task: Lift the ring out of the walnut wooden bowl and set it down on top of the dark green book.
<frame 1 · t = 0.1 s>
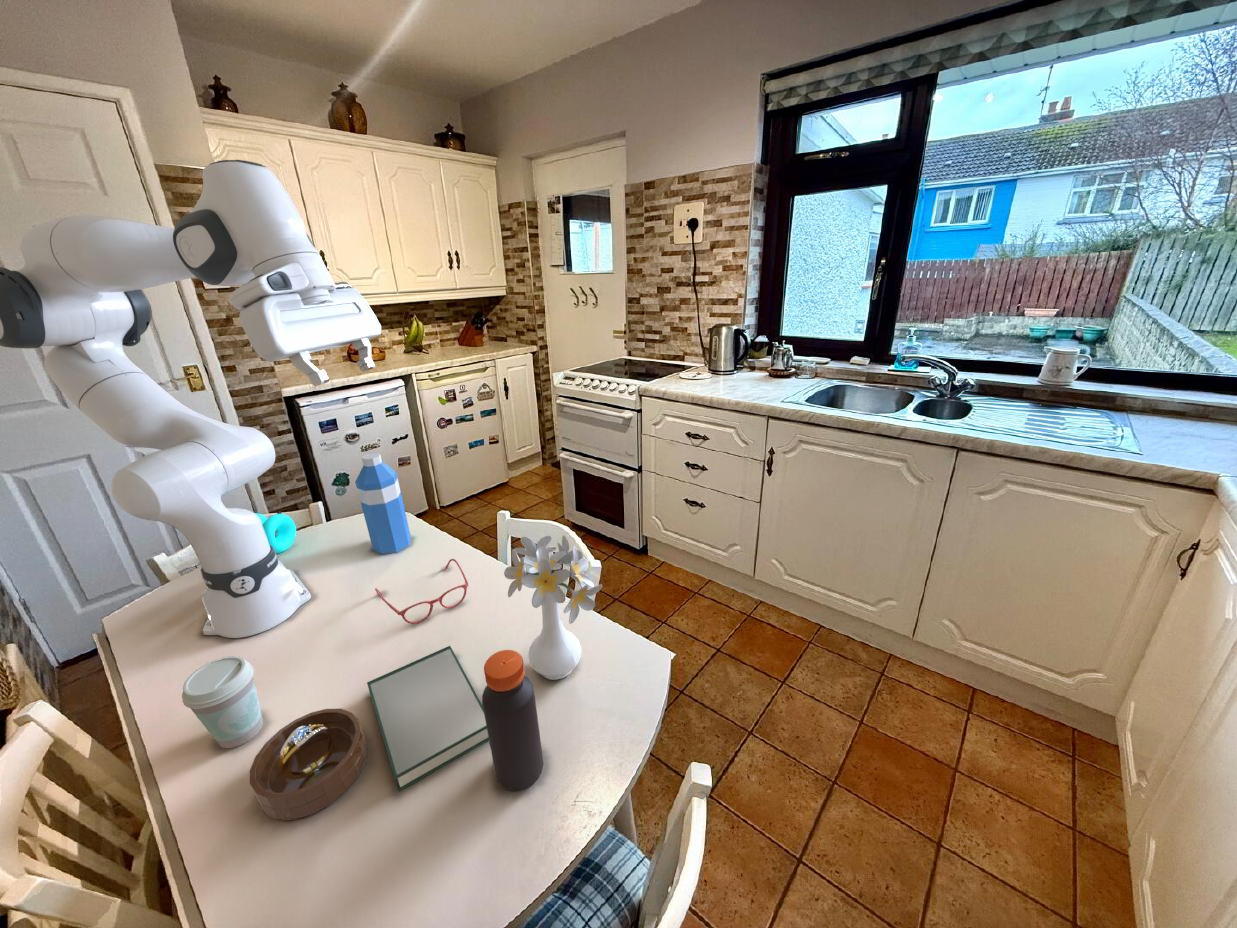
hand: (347, 376, 73), 52 cm above the table, tool tilted 20°, fingers open, 8 cm apart
coffee cup: (242, 732, 77), on the table
book: (429, 715, 78), on the table
ring: (316, 770, 70), resting on bowl
vinegar: (520, 769, 70), on the table
flower vase: (560, 667, 87), on the table
water bottle: (392, 545, 127), on the table
bowl: (317, 772, 70), on the table
donuts: (272, 550, 126), on the table
red eyeglasses: (426, 598, 106), on the table
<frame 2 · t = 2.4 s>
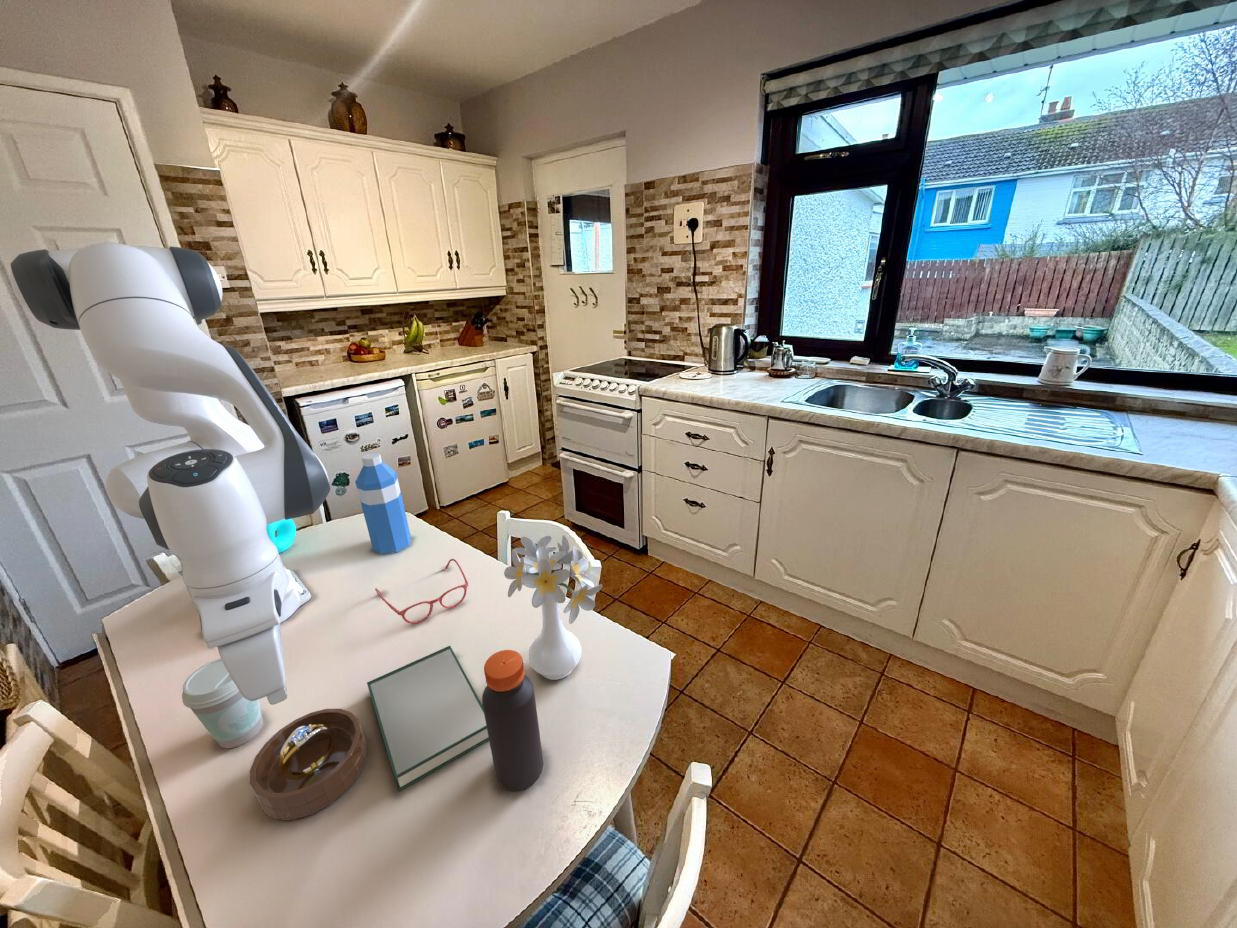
hand: (277, 674, 62), 19 cm above the table, tool pointing down, fingers open, 8 cm apart
nothing on the table moved.
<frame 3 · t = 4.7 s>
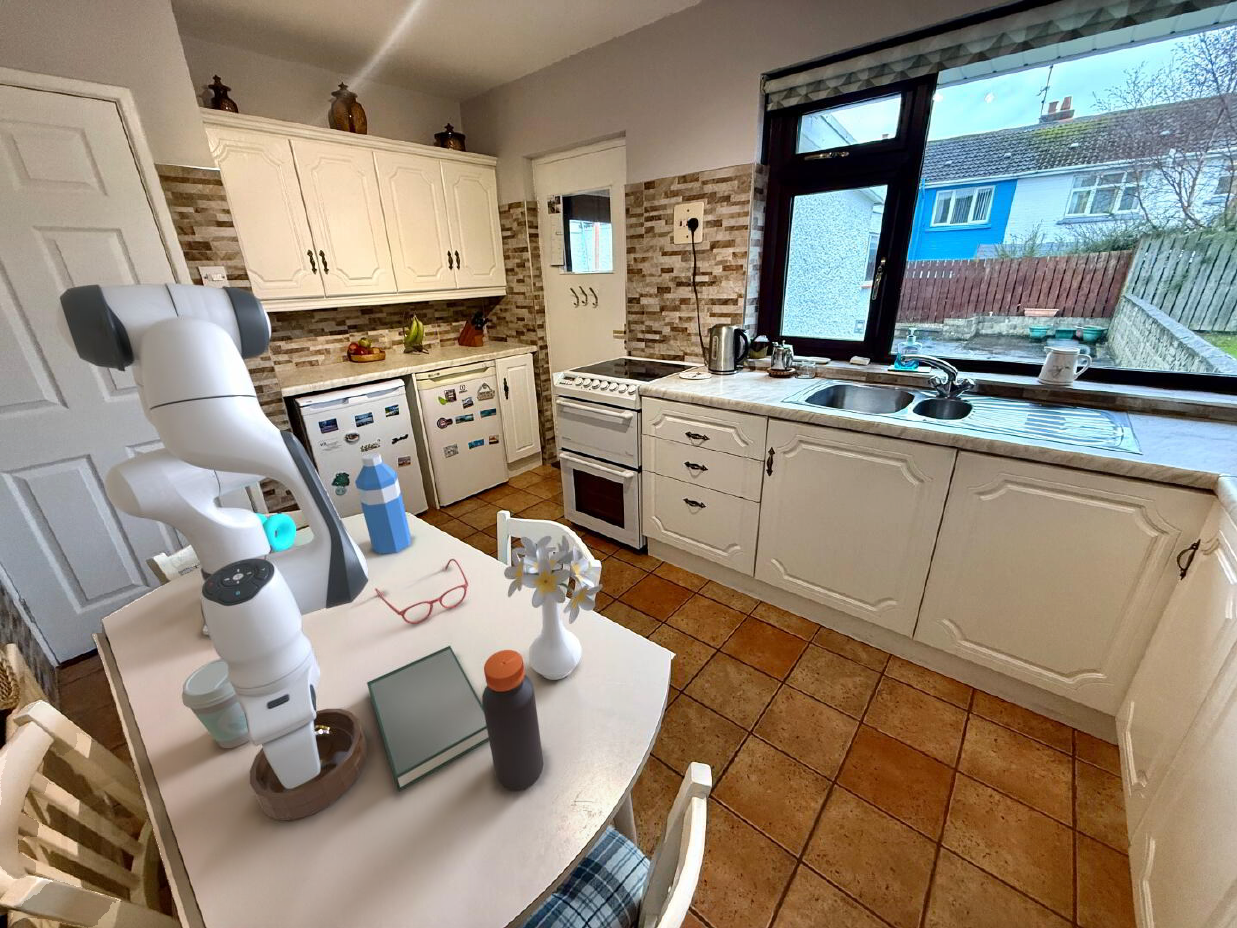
hand: (308, 750, 68), 5 cm above the table, tool pointing down, fingers closed on ring, 2 cm apart
ring: (316, 770, 70), resting on bowl, touching gripper
everything else where it was.
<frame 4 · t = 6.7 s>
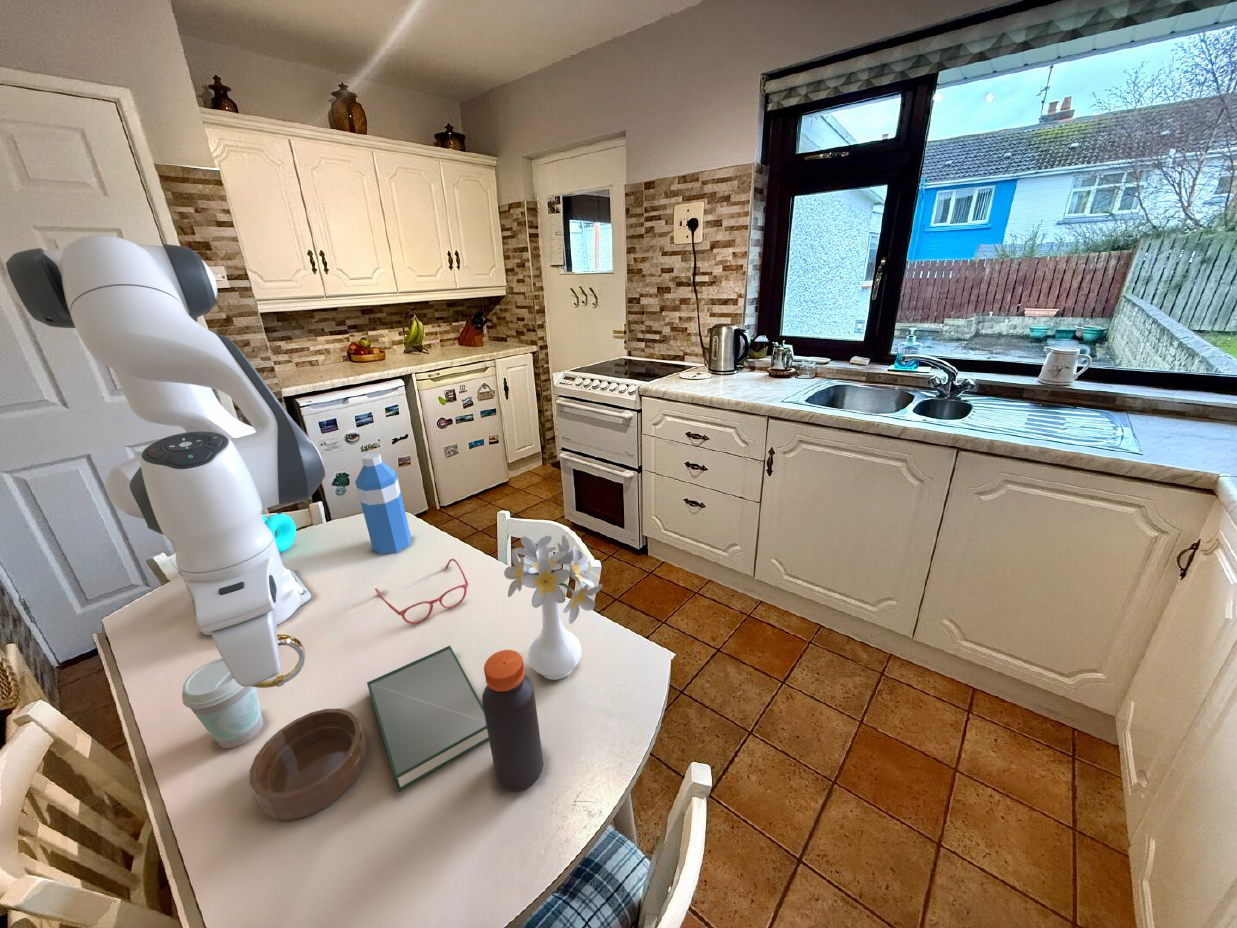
hand: (271, 660, 62), 21 cm above the table, tool pointing down, fingers closed on ring
ring: (281, 684, 63), point 17 cm above the table, touching gripper
everything else where it was.
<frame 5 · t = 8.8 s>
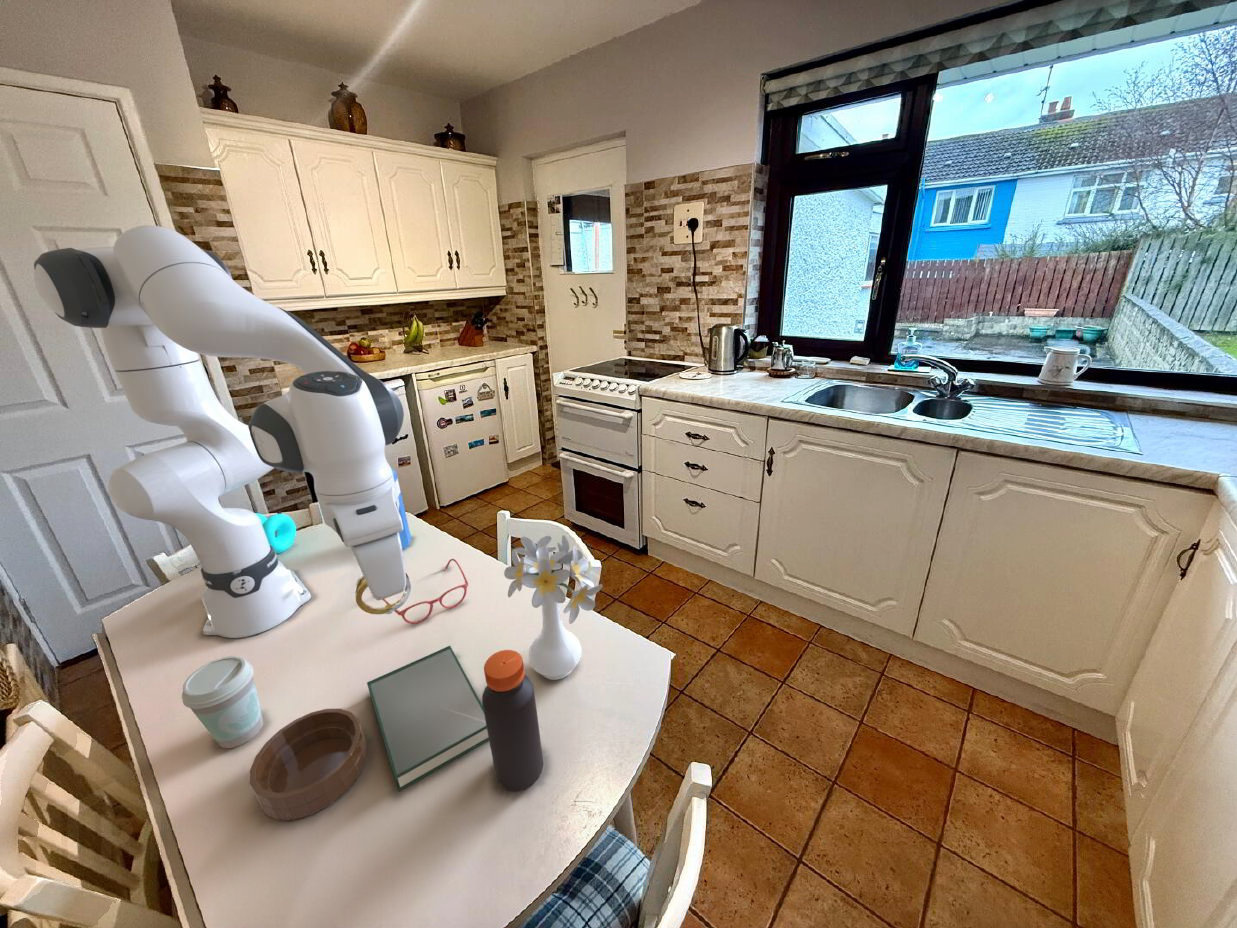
hand: (383, 589, 67), 26 cm above the table, tool pointing down, fingers closed on ring
ring: (389, 613, 69), point 22 cm above the table, touching gripper
everything else where it was.
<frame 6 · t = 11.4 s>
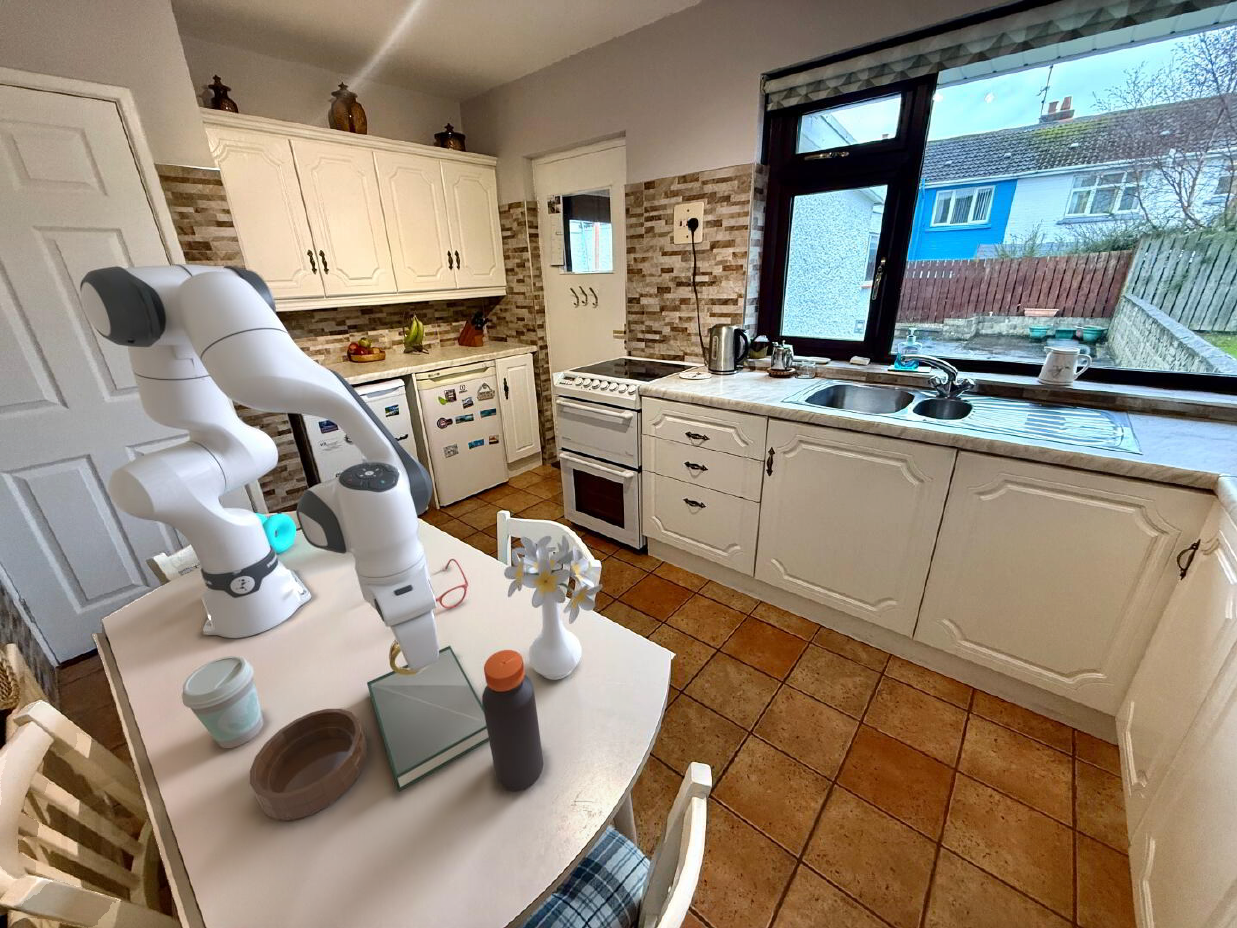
hand: (414, 651, 73), 13 cm above the table, tool pointing down, fingers closed on ring
ring: (419, 672, 75), point 9 cm above the table, touching gripper
everything else where it was.
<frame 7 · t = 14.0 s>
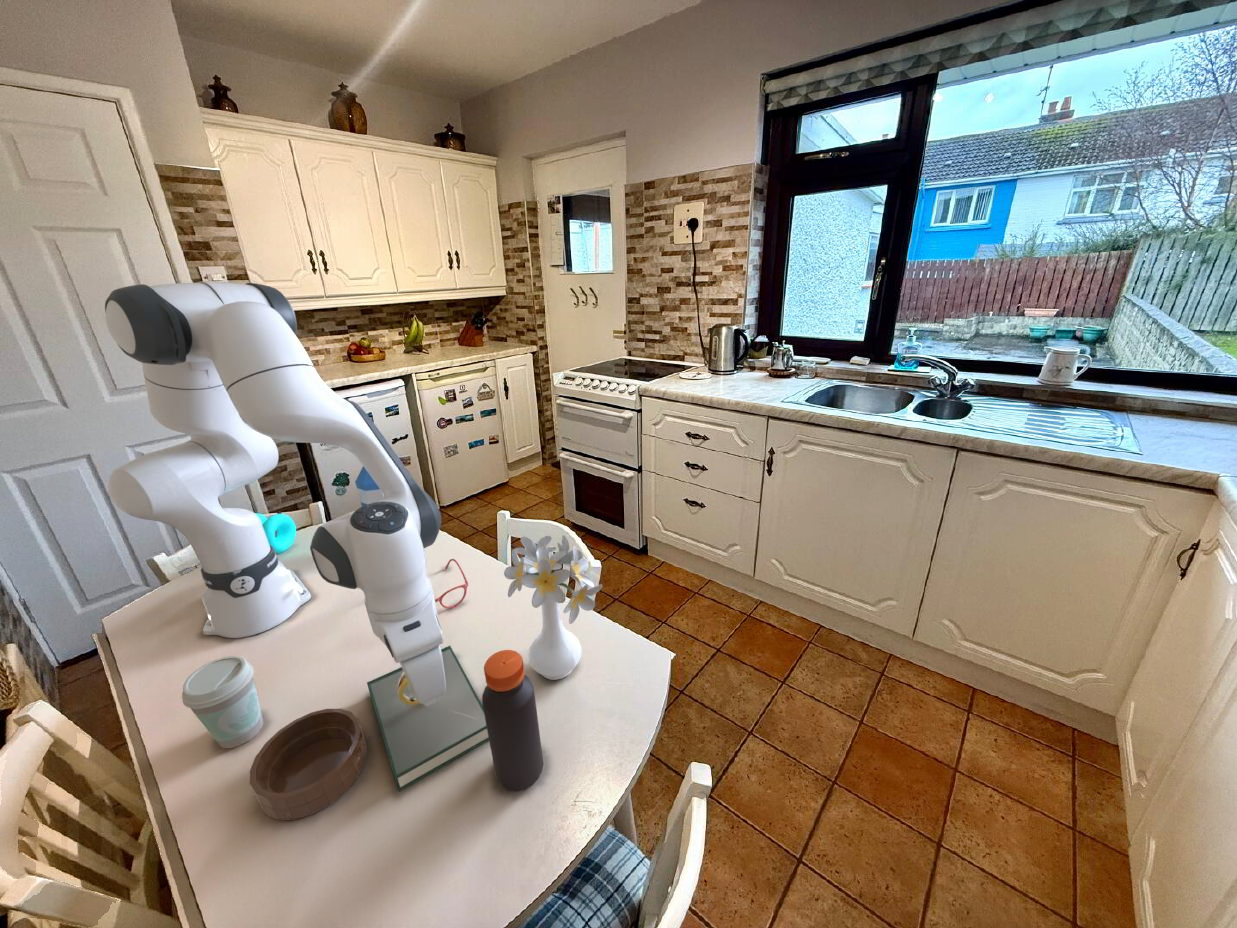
hand: (420, 680, 75), 7 cm above the table, tool pointing down, fingers open, 8 cm apart
ring: (426, 702, 77), point 3 cm above the table, touching book
everything else where it was.
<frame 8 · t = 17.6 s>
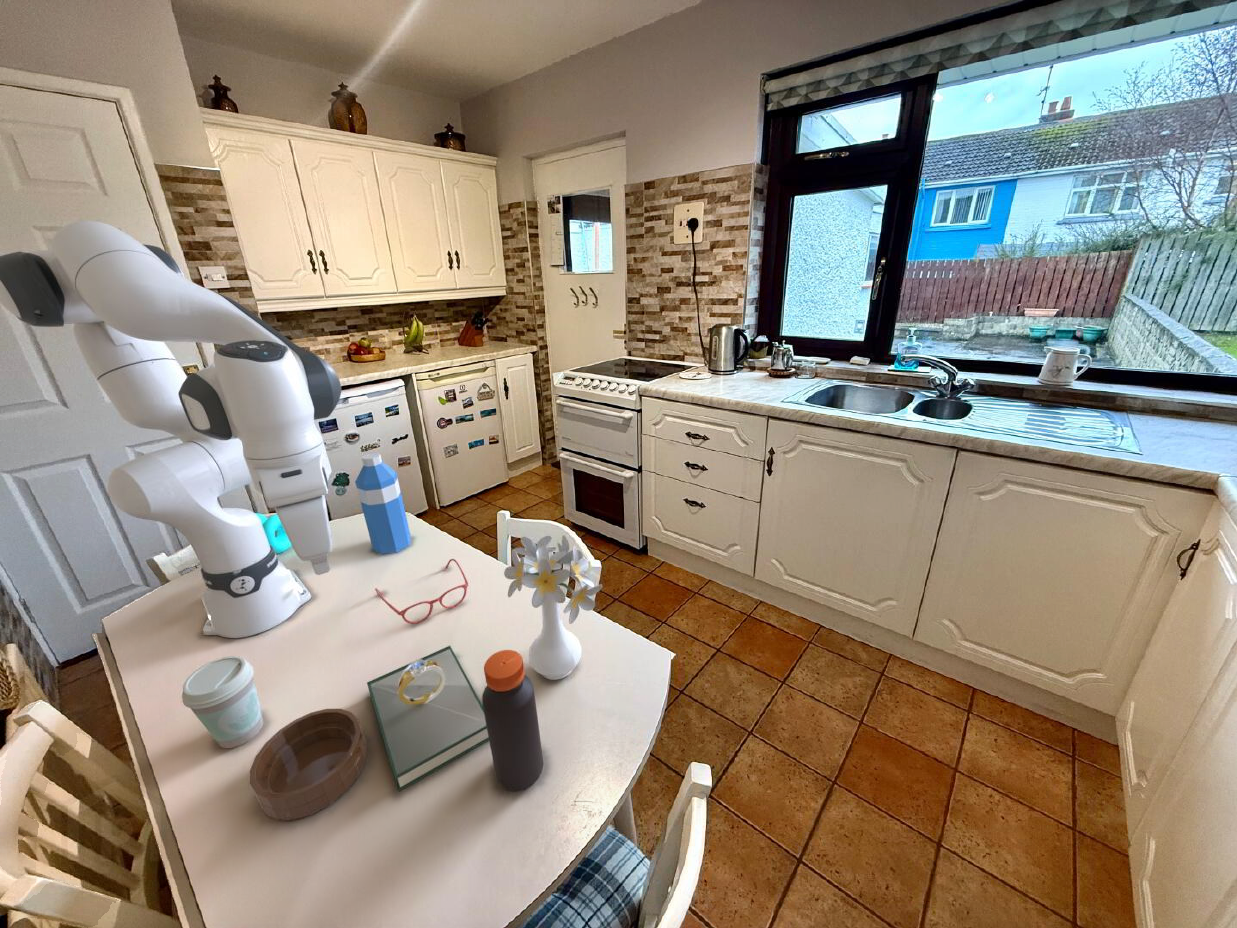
hand: (319, 555, 70), 29 cm above the table, tool pointing down, fingers open, 8 cm apart
nothing on the table moved.
at the end: ring inside the target area on the book (0.1 cm from its centre), point 2.8 cm above the book's base; the gripper is holding nothing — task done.
